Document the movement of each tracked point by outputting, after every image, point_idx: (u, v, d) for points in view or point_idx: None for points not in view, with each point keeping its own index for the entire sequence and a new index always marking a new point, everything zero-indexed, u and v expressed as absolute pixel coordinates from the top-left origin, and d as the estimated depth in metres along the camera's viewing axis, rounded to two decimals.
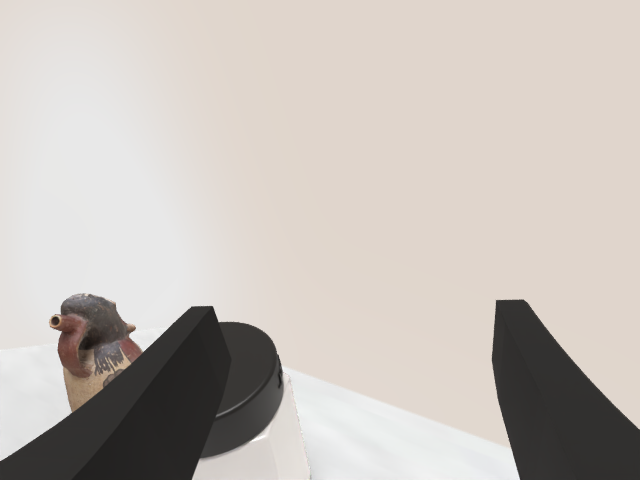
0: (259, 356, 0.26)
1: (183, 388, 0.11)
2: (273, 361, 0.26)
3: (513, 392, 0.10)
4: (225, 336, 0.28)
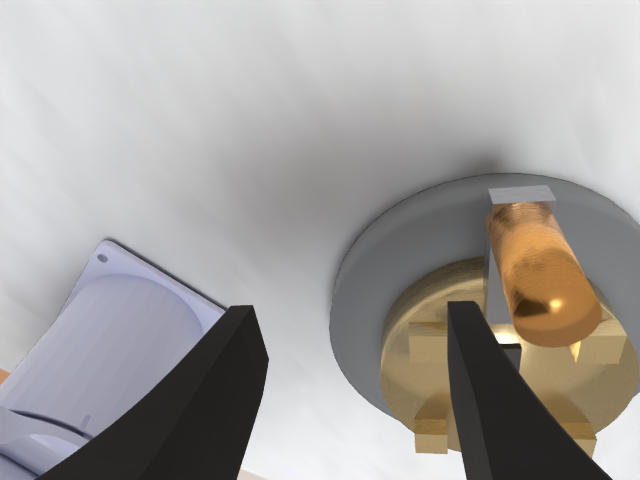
0: None
1: (228, 389, 0.11)
2: None
3: (458, 391, 0.10)
4: None
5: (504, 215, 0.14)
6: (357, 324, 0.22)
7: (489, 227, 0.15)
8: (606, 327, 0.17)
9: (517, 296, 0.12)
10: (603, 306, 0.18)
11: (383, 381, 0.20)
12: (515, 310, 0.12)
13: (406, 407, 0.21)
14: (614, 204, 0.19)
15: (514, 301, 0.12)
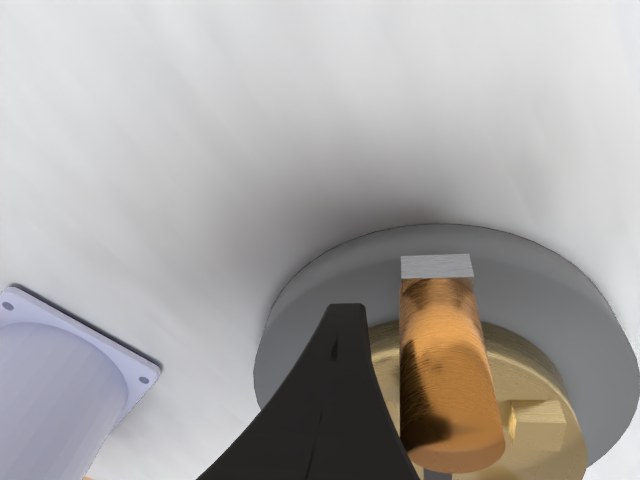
0: None
1: None
2: None
3: None
4: None
5: (413, 293, 0.12)
6: None
7: (399, 304, 0.13)
8: (545, 411, 0.14)
9: (405, 414, 0.09)
10: (545, 381, 0.15)
11: None
12: (401, 433, 0.09)
13: None
14: (562, 259, 0.17)
15: (402, 420, 0.09)
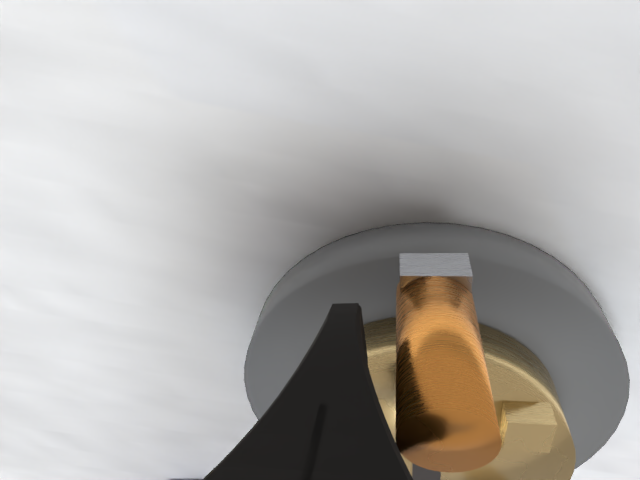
0: None
1: None
2: None
3: None
4: None
5: (411, 291, 0.12)
6: None
7: (396, 301, 0.12)
8: (536, 412, 0.14)
9: (401, 411, 0.09)
10: (537, 383, 0.15)
11: None
12: (397, 431, 0.09)
13: None
14: (373, 231, 0.17)
15: (398, 417, 0.09)
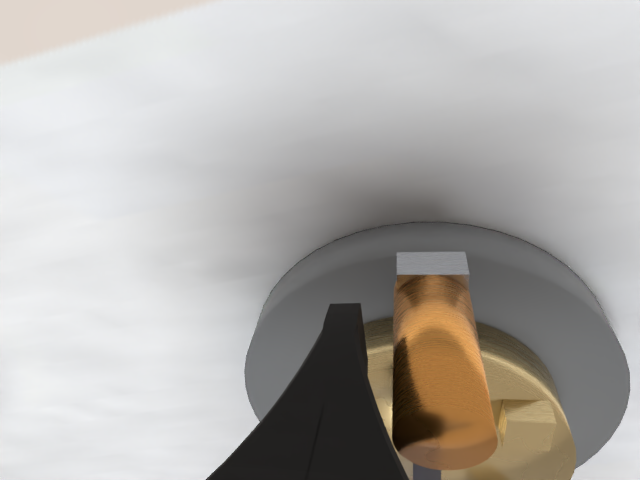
0: None
1: None
2: None
3: None
4: None
5: (408, 290, 0.12)
6: None
7: (394, 300, 0.12)
8: (535, 411, 0.14)
9: (397, 409, 0.09)
10: (536, 382, 0.15)
11: None
12: (393, 429, 0.09)
13: None
14: (300, 263, 0.18)
15: (394, 415, 0.09)
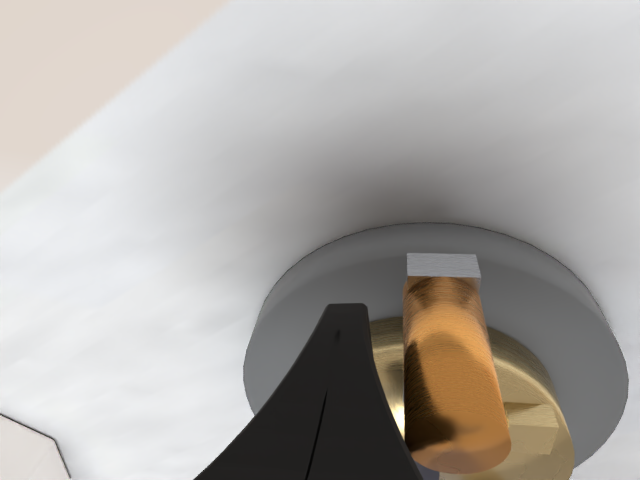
0: None
1: None
2: None
3: None
4: None
5: (419, 291, 0.12)
6: None
7: (403, 301, 0.12)
8: (538, 414, 0.14)
9: (410, 412, 0.09)
10: (538, 385, 0.15)
11: None
12: (406, 431, 0.09)
13: None
14: (265, 301, 0.20)
15: (407, 418, 0.09)
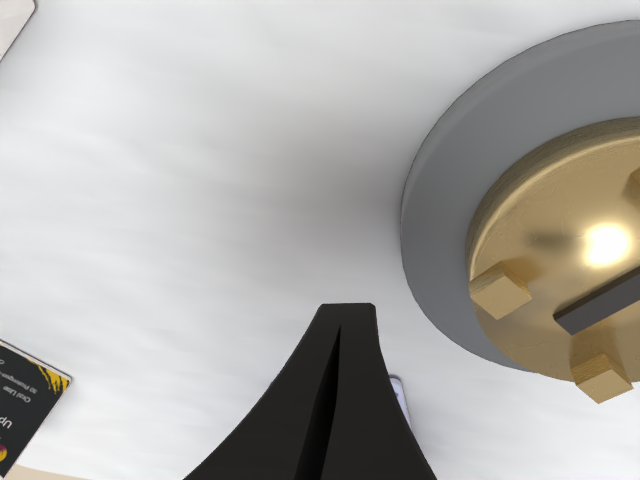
0: None
1: (334, 390, 0.10)
2: None
3: None
4: None
5: None
6: (468, 321, 0.21)
7: None
8: None
9: None
10: None
11: (542, 192, 0.14)
12: None
13: (514, 242, 0.16)
14: (569, 34, 0.16)
15: None
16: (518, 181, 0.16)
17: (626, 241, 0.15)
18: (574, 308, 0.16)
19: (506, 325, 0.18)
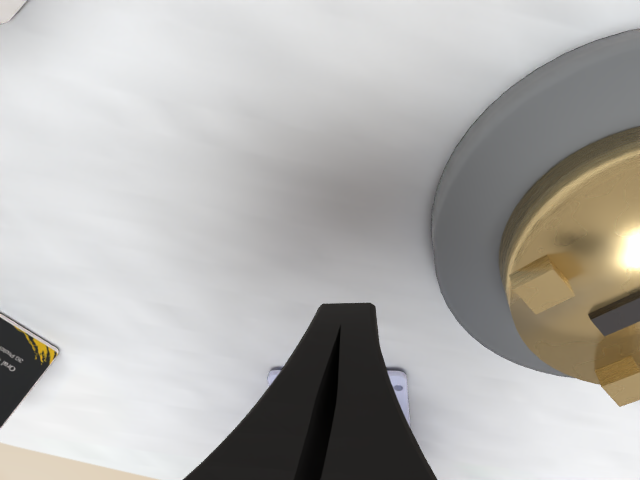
0: None
1: (334, 390, 0.10)
2: None
3: None
4: None
5: None
6: (490, 316, 0.21)
7: None
8: None
9: None
10: None
11: (602, 186, 0.14)
12: None
13: (564, 236, 0.15)
14: (635, 31, 0.16)
15: None
16: (572, 175, 0.15)
17: None
18: (612, 308, 0.16)
19: (539, 322, 0.17)
